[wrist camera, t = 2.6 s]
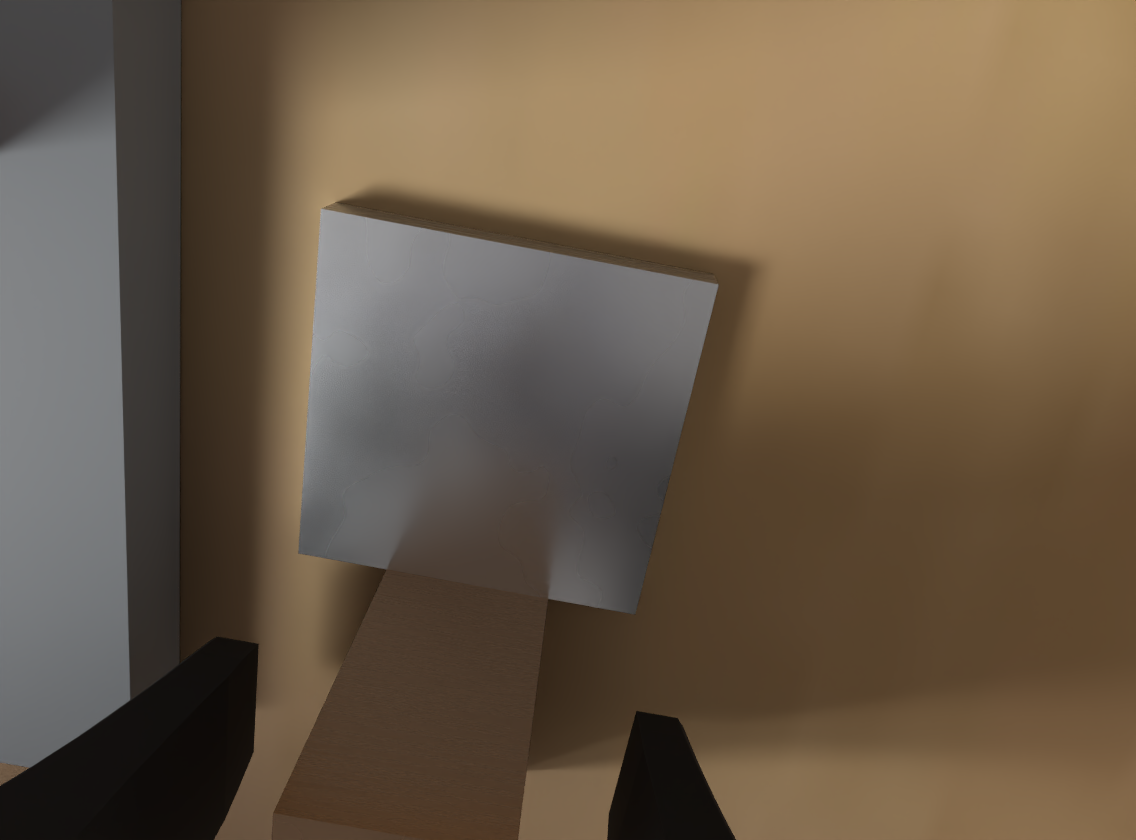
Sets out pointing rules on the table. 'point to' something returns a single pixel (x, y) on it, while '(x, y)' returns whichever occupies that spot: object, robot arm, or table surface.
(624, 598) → the turner
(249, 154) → the table surface
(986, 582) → the table surface
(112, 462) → the board
